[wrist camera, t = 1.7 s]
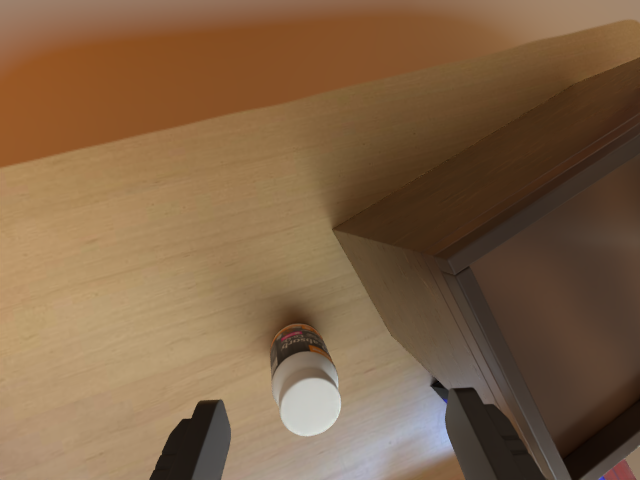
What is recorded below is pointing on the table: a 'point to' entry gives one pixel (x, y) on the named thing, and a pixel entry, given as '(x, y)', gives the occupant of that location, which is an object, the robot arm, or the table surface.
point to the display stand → (526, 273)
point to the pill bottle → (304, 380)
